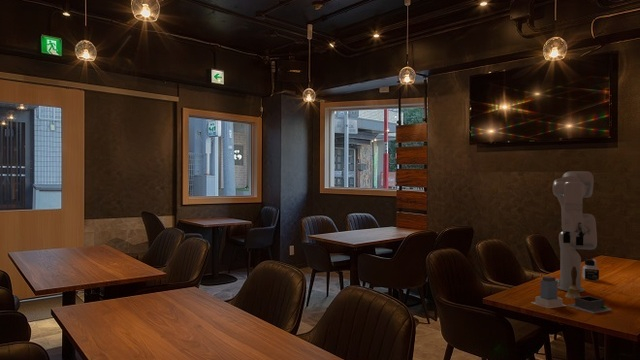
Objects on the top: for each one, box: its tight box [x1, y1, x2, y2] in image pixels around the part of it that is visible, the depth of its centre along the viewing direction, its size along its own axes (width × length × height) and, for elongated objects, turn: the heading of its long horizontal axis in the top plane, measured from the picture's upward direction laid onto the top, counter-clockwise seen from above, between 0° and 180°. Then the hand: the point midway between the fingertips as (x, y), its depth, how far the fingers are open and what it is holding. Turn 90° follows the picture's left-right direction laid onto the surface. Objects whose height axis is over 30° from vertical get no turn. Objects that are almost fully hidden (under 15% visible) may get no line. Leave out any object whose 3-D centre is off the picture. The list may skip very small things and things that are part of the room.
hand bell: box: [564, 267, 582, 300], centre depth 212 cm, size 8×8×16 cm
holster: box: [530, 295, 568, 309], centre depth 200 cm, size 10×12×4 cm
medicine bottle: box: [582, 258, 600, 282], centre depth 253 cm, size 7×7×12 cm
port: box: [567, 295, 612, 314], centre depth 193 cm, size 12×12×5 cm
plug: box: [540, 275, 558, 300], centre depth 200 cm, size 4×6×12 cm, turn 112°
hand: (573, 244), depth 202 cm, fingers open, 9 cm apart
